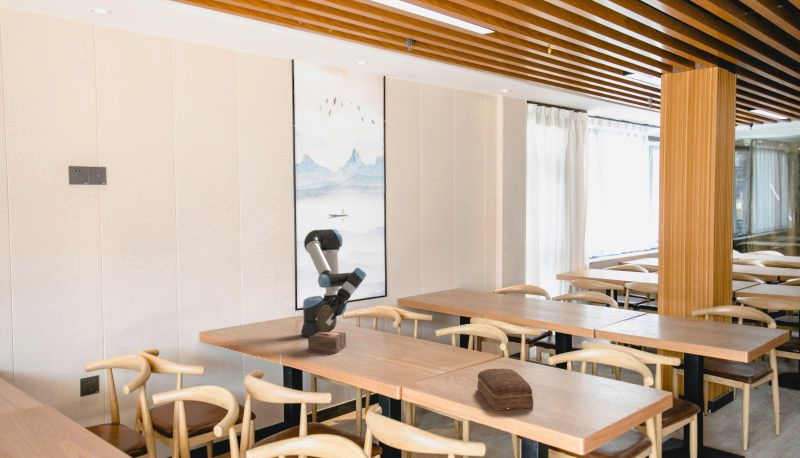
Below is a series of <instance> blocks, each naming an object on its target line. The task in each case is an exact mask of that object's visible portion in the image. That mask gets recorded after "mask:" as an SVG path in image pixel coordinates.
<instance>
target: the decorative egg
mask: <svg viewBox="0 0 800 458" xmlns="http://www.w3.org/2000/svg"><path fill="white" fill-rule="evenodd" d="M333 312H334V311H333V309H332V308H331V307H330V306H328V305H324V306H323V307H322V308H321V309H320V311H319V313H318V316H317V324H318V327H319V328H320V329H321V330H322V331H324V332H333V330H334V329H335V328H336V326H337V320H338V319H337V317H336V318H335V319H334V320H333V322H332V323H331V324H330V326H329V325H328V324H327V323H326V321H327V320H328V319H329V317H330V316H331V315H332V313H333Z"/></svg>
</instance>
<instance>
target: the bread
mask: <svg viewBox="0 0 800 458" xmlns="http://www.w3.org/2000/svg"><path fill="white" fill-rule="evenodd" d="M477 378H478V380H477V384H476V385H477V387H476V388H477V390H478V392H479V393H480V392H481V393H480V394H481V396H482V395H483V396H484V397H485V398H486V399H485V398H484V397H483V396H482V397H483V398H484V399H485V400H486V402H487V401H488V402H489V403H488V402H487V403H488V404H489V406H490V407H491V408H493V409H494V408H495V409H507V408H528V409H532V408H533V407H534V397H533V389H532V387H531V385H530V384H529V383H528V382H527V381H526V380H525V379H524V378H523V376H521V375H520V374H519V373H518V372H517V371H515V370H513V369H511V368H488V369H487V368H486V369H483V370H482V371H480V372H479V373H478V374H477ZM531 407H532V408H531ZM495 409H494V410H495Z"/></svg>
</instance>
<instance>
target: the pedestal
mask: <svg viewBox="0 0 800 458" xmlns="http://www.w3.org/2000/svg"><path fill="white" fill-rule="evenodd" d="M346 335H347V334H346V332H338V331H337V332H336V331H330V332H318V333H316V334H314V335H312V336H310V337H307V338H308V339H307V346H308V353H313V354H314V353H316V354H317V353H319V354H338V353H339V352H341V351H342V350H343V349H345V348H346V347H347V345H346V344H347V340H346V339H347V337H346Z"/></svg>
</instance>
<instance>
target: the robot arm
mask: <svg viewBox="0 0 800 458" xmlns="http://www.w3.org/2000/svg"><path fill="white" fill-rule="evenodd" d="M303 241H304V243H303V246H304V249H305V252H306V253H308V254H309V256H310V258H311V260H312V262H313V264H314V266H315V269H316V271H317V273H318V275H319V276H318V278H317V283H318V286H319V287H320V288H322V289H325V293H324V294H323V296H321V295H316V296H314V295H312V296H310V297H309V296H308V297H306V298H305V299H303V305H302V309H303V311H302V312H303V325H302V328H301V330H300V336H301V337H304V338H309V337H310V336H312V335H314V334H316V333H318V332H324V331H322V330H321V329H320V328H319V327H318V324H317V316H318V313H319V311H320V309H321V308H322V307H323V306H324V305H328V306H330V307H331V308H332V309H333V311H334V312H333V313H332V315H331V316H330V317H329V319H328V320H327V321H326V323H327V324H328V325H329V326H330V324H331V323H332V322H333V320H334V319H335V318H336V319H337V317H338V316H342V315H343V314H344V313H345V312H346V310H347V304H348V301H349V300H350V299H351V297H352V295H353V294H354V293H355V292H356V290H357V289H358V287H359V286H360V285H361V284H362V282H363V281H364V280H365V278H366V277H367V273H366V271H364V269H362V268H361V267H355V269H354V270H353V271H352V272H343V273H340V272H339V271H340V270H339V258H338V253H339V251H340V248H341V247H342V246H343V236H342V234H341V232H340V231H339V230H338V229H336V228H335V229H334V228H332V229H331V228H329V229H313V230H311V231H309V232H308V233H307V234H306V236H305V238H304V240H303Z"/></svg>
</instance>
